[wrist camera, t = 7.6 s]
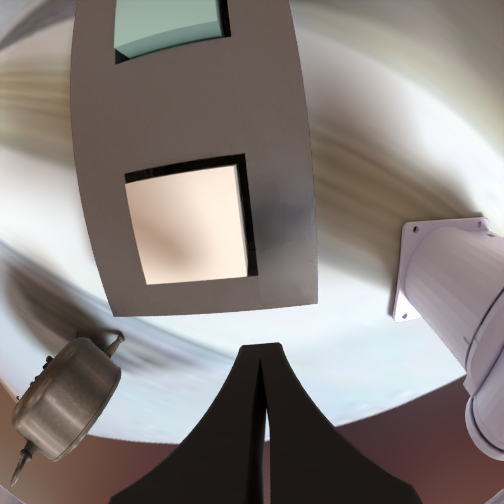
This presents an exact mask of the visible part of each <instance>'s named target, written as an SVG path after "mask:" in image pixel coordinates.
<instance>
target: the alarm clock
mask: <svg viewBox="0 0 504 504" xmlns="http://www.w3.org/2000/svg"><path fill="white" fill-rule="evenodd" d="M124 340H125V338H124V336H123V335H119V336H118V337H117V340H116V341H114V342H113V343H112V344H111V345H110V346H109V347H108V348H107V349H106V350H105V351H101V350H100V349H99V348H98V347H97V346H96V345H95V344H94V343H93V342H92V341H91V340H90V339H88V338H85V337H79V338H77V332H76V331H75V333H74V339H73V340H72V341H70V342H69V343H68V344H67V345H66V346H65V347H64V348H63V349H62V350H61V351H60V352H59V353H58V354H57V356H56V357H55V358H54V359H53V358H52V357H51V356H48V357H47V358H46V362H47V363H46V364H45V365H44V366H43V369H44V370H43V371H42V372H41V374H40V375H39V376H36V377H35V381H34V382H31V383H30V387H29V388H28V390H27V391H26V392H25V394H24V395H23V396H22V398H21V399H20V400H19V396H17V397H16V398H17V399H18V400H19V402H18V403H17V405H16V406H15V408H14V410H13V413H12V423H13V426H14V428H15V430H16V431H17V432H18V433H19V434H20V435H21V436H22V437H23V438H24V439H25V440H26V441H27V443H26V445H25V448H24V449H22V450H21V452H20V454H21V456H22V458H21V459H20V461H19V463H18V465H17V468H16V470H15V473H14V474H13V477H12V480H11V483H10V484H11V486H14V484H15V483H16V481H17V480H18V478H19V475H20V473H21V471H22V469H23V466H24V464H25V462H26V461H30V460H31V459H32V455H33V454H34V453H35V452H36V451H37V450H38V451H39V452H41V453H42V454H43V455H44V456H45V457H47V458H48V459H49V460H50V461H52V462H56V461H59V460H61V459H62V458H63V457H65V456H66V455H67V454H68V453H70V452H71V450H73V449H74V448H75V447H76V446H77V445H78V444H79V443H80V441H81V440H82V439H83V438H84V436H85V435H86V434H87V433H88V431H89V430H90V429H91V427H92V426H93V424H94V423H95V422H96V420H97V419H98V417H99V416H100V415H101V413H102V412H103V410H104V408H105V407H106V406H107V404H108V402H109V400H110V399H111V397H112V395H113V393H114V391H115V390H116V388H117V386H118V384H119V381H120V379H121V368H120V367H118V366H117V365H116V364H115V363H113V362H112V361H111V359H110V358H111V355H112V354H113V353H114V352H115V351H116V349H117V347H118V346H119V344H120V343H121V342H123V341H124Z"/></svg>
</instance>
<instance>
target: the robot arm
mask: <svg viewBox="0 0 504 504" xmlns="http://www.w3.org/2000/svg"><path fill="white" fill-rule="evenodd" d="M415 226H416V230H415V231H414V232H413V228H414V227H415ZM403 314H405V315H404V316H403ZM419 317H422V318H423V319H424V320H425V321H426V322H427V323H428V325H429V326H430V327H431V328H432V329H433V330H434V332H435V333H436V334H437V335H438V336H439V338H440V339H441V340H442V341H443V343H444V344H445V345H446V346H447V348H448V349H449V350H450V351H451V353H452V354H453V355H454V356H455V358H456V359H457V360H458V361H459V363H460V364H461V365H462V367H463V368H464V369H465V371H466V372H467V377H466V380H465V382H464V384H463V385H464V386H465V388H466V390H467V391H468V392H469V394H470V395H471V397H470V398H469V401H468V403H467V406H466V413H465V419H466V425H467V429H468V432H469V434H470V436H471V438H472V440H473V441H474V443H475V444H476V446H477V447H478V448H479V449H480V450H481V451H482V452H483V453H485V454H486V455H488V456H489V457H492V458H494V459H497V460H502V461H504V238H503V237H501V236H499V235H497V234H495V233H493V232H491V231H489V219H488V218H486V217H477V218H460V219H445V220H430V221H416V222H407V223H405V224H404V225H403V228H402V240H401V254H400V265H399V274H398V282H397V290H396V297H395V304H394V310H393V320H394V321H395V322H402V321H406V320H411V319H415V318H419ZM266 408H267V414H268V421H269V428H270V471H271V472H270V477H271V479H270V480H271V481H270V482H271V504H423V503H422V501H421V499H420V497H419V495H418V494H417V492H416V490H415V489H414V487H413V486H412V485H411V484H409V483H407V482H406V481H404V480H402V479H400V478H398V477H397V476H395V475H393V474H392V473H390V472H389V471H387V470H386V469H384V468H383V467H381V466H380V465H378V464H377V463H375V462H374V461H373V460H371V459H370V458H369V457H367V456H366V455H365V454H364V453H363V452H361V451H360V450H359V449H358V448H357V447H355V446H354V445H353V444H352V443H351V442H350V441H349V440H347V439H346V438H345V437H344V436H343V435H342V434H341V433H340V432H339V431H338V430H337V429H336V428H335V427H334V426H333V425H332V424H331V422H330V421H329V420H328V419H327V418H326V417H325V416H324V415H323V413H322V412H321V411H320V410H319V409H318V407H317V406H316V405H315V403H314V402H313V401H312V399H311V398H310V397H309V395H308V394H307V392H306V391H305V390H304V388H303V387H302V385H301V383H300V382H299V380H298V379H297V377H296V375H295V374H294V372H293V370H292V368H291V366H290V364H289V362H288V360H287V358H286V356H285V353H284V351H283V348H282V345H281V344H280V343H279V342H277V343H266V344H254V345H242V346H241V347H240V349H239V352H238V355H237V357H236V360H235V362H234V365H233V367H232V369H231V371H230V373H229V375H228V377H227V379H226V381H225V382H224V384H223V386H222V388H221V390H220V392H219V393H218V395H217V396H216V398H215V399H214V401H213V403H212V404H211V406H210V407H209V409H208V410H207V412H206V413H205V414H204V416H203V417H202V419H201V420H200V421H199V423H198V424H197V425H196V426H195V427H194V429H193V430H192V431H191V432H190V433H189V435H188V436H187V437H186V438H185V439H184V440H183V441H182V442H181V443H180V444H179V445H178V447H177V448H176V449H175V450H174V451H173V452H171V453H170V454H169V455H168V456H167V457H166V458H165V459H164V460H163V461H161V462H160V463H159V464H158V465H157V466H155V467H154V468H153V469H152V470H151V471H149V472H148V473H147V474H146V475H144V476H143V477H142V478H140V479H139V480H137V481H136V482H134V483H133V484H131V485H130V486H128V487H126V488H125V489H123V490H122V491H120V492H118V493H117V494H115V495H114V496H112V497H111V499H110V501H109V503H108V504H264V493H263V492H264V491H263V453H264V439H265V424H266ZM0 504H26V503H24V502H22V501H21V500H20V499H18V498H17V497H15V496H14V495H13V494H11V493H10V492H9V491H7V490H6V489H5V488H3V487H2V486H1V485H0ZM485 504H504V489H502V490H501V491H500V492H499V493H497V494H496V495H495V496H494V497H493V498H491V499H490V500H489V501H488V502H486V503H485Z"/></svg>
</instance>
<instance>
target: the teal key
mask: <svg viewBox="0 0 504 504" xmlns="http://www.w3.org/2000/svg"><path fill="white" fill-rule="evenodd" d="M219 38H224V29H223V20H222V11H221V2H220V0H117V2H116V14H115V32H114V48H115V49H116V50H118V51H119V52H121V53H122V54H124V55H125V56H127V57H128V58H130V59H134V58H137V57H140V56H143V55H147V54H150V53H154V52H157V51H161V50H165V49H169V48H173V47H177V46H181V45H186V44H191V43H196V42H201V41H207V40H213V39H219Z"/></svg>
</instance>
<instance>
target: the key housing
mask: <svg viewBox="0 0 504 504" xmlns="http://www.w3.org/2000/svg"><path fill="white" fill-rule="evenodd" d="M116 2H117V0H78V3H77V9H76V15H75V22H74V30H73V40H72V53H71V75H70V100H71V123H72V137H73V147H74V156H75V164H76V172H77V178H78V185H79V191H80V196H81V202H82V207H83V212H84V217H85V221H86V226H87V230H88V234H89V238H90V242H91V246H92V250H93V254H94V257H95V261H96V264H97V268H98V271H99V274H100V278H101V281H102V284H103V287H104V290H105V293H106V296H107V299H108V302H109V305H110V308H111V310H112V313H113V316H114V317H131V316H169V315H192V314H209V313H225V312H238V311H250V310H262V309H272V308H282V307H292V306H301V305H310V304H318V271H317V233H316V211H315V194H314V179H313V167H312V155H311V144H310V134H309V125H308V116H307V108H306V100H305V92H304V85H303V78H302V71H301V65H300V59H299V53H298V47H297V41H296V35H295V30H294V25H293V20H292V15H291V10H290V5H289V1H288V0H227V4H228V12H229V20H230V29H231V37H226V38H219V39H213V40H207V41H201V42H196V43H191V44H186V45H181V46H177V47H173V48H169V49H165V50H161V51H157V52H154V53H150V54H147V55H143V56H140V57H137V58H134V59H130V58H128V57H127V56H125V55H124V54H122V53H121V52H119V51H118V50H116V49H115V48H114V32H115V14H116ZM241 154H245V158H246V167H247V176H248V185H249V194H250V203H251V212H252V221H253V230H254V239H255V248H256V249H255V250H248V267H247V277H236V278H225V279H213V280H201V281H189V282H176V283H162V284H148V285H147V283H146V279H145V276H144V272H143V268H142V264H141V260H140V256H139V252H138V248H137V243H136V239H135V234H134V230H133V225H132V220H131V215H130V210H129V205H128V199H127V193H126V187H125V184H128V183H131V182H135V181H138V180H142V179H146V178H150V177H153V173H152V168H157V167H162V166H168V165H173V164H179V163H185V162H191V161H197V160H203V159H210V158H217V157H225V156H233V155H241Z"/></svg>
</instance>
